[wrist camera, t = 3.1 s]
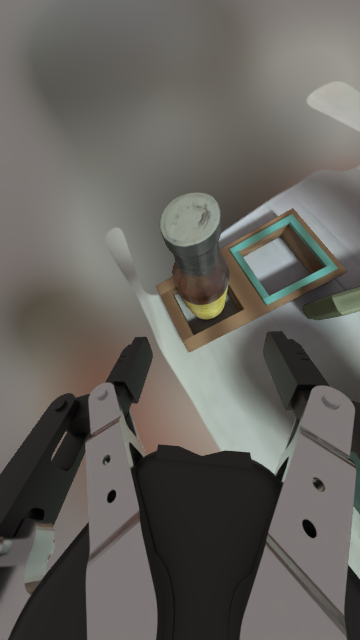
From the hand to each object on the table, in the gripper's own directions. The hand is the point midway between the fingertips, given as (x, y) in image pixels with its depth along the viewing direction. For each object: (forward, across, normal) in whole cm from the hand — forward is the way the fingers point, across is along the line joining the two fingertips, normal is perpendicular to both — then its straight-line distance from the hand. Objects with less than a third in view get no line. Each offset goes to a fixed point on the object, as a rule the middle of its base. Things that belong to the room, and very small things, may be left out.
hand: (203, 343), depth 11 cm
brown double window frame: (+20, -6, +5) cm, 21 cm away
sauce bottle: (+18, 0, +7) cm, 19 cm away
